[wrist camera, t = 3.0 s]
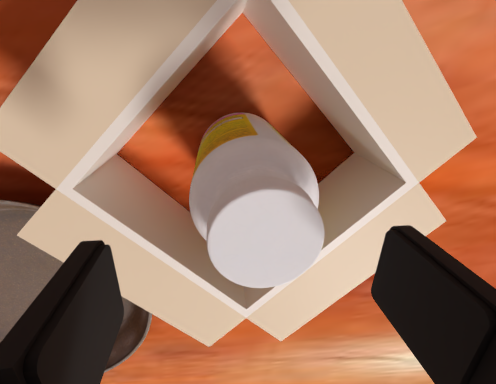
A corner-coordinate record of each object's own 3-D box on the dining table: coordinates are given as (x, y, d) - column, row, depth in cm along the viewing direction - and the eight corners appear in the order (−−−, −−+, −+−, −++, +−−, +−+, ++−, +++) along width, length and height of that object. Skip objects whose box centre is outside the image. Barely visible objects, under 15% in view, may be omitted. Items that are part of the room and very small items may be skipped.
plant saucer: (201, 283, 27) (199, 309, 24) (71, 381, 31) (56, 414, 28) (6, 129, 20) (-32, 139, 17) (-134, 283, 24) (-185, 314, 21)
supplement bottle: (188, 175, 22) (156, 286, 11) (215, 97, 20) (211, 130, 8) (261, 199, 24) (302, 320, 12) (294, 130, 22) (382, 196, 10)
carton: (424, 152, 24) (500, 181, 17) (239, 302, 29) (244, 367, 22) (244, -121, 16) (261, -257, 9) (27, 154, 20) (-60, 191, 14)
